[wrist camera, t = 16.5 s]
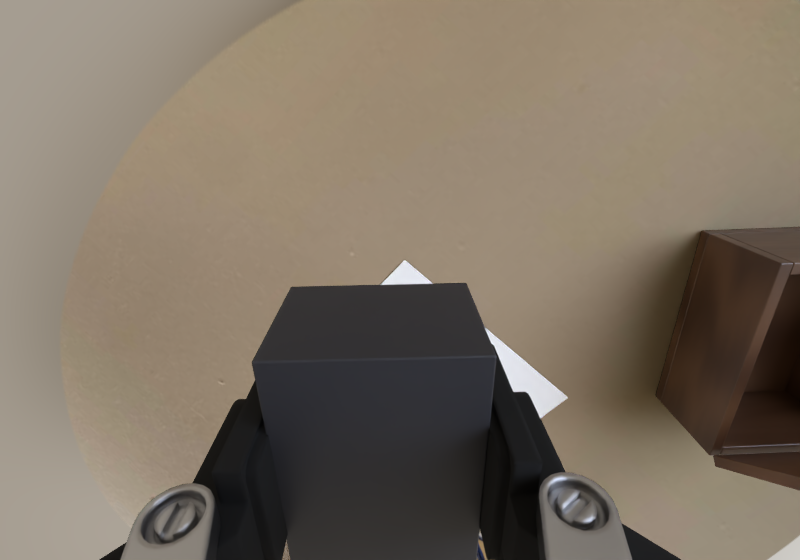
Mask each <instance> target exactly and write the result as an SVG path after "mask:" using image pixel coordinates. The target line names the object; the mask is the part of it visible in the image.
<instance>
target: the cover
mask: <svg viewBox="0 0 800 560" xmlns="http://www.w3.org/2000/svg"><path fill="white" fill-rule="evenodd" d="M713 457H714V462H715V466H716V467H719V468H723V469H726V470H730V471H733V472H737V473H740V474H744V475H747V476H751V477H754V478H758V479H761V480H765V481H768V482H772V483H775V484H779V485H782V486H786V487H789V488H793V489H796V490H800V451H799V452H776V453H753V454H730V455H714V456H713Z"/></svg>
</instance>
